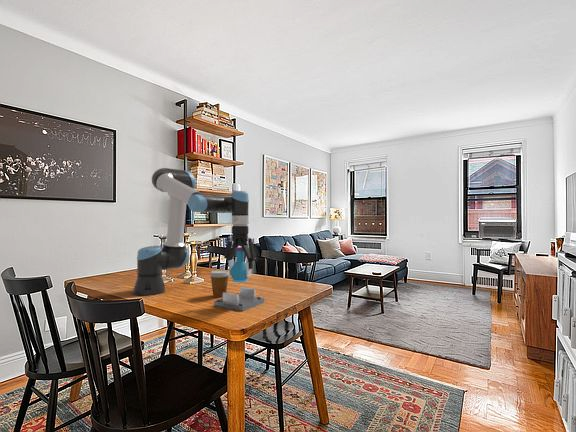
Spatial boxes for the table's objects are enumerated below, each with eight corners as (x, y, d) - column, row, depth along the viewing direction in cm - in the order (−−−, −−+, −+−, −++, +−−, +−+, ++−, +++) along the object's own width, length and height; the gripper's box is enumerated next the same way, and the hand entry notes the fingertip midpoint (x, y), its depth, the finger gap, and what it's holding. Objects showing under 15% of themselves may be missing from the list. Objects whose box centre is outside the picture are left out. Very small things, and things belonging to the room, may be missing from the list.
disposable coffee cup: (224, 298, 155) (225, 273, 155) (206, 297, 157) (206, 272, 157) (232, 293, 164) (232, 270, 164) (214, 292, 166) (214, 269, 166)
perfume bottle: (230, 279, 150) (230, 246, 150) (250, 278, 150) (250, 246, 150) (228, 283, 140) (228, 248, 141) (249, 282, 141) (249, 248, 141)
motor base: (213, 305, 143) (213, 292, 143) (236, 297, 157) (236, 285, 157) (242, 311, 135) (242, 296, 135) (264, 302, 149) (264, 289, 149)
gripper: (216, 225, 148) (216, 274, 148) (255, 225, 137) (255, 278, 137) (226, 225, 154) (226, 272, 154) (264, 225, 143) (264, 276, 143)
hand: (240, 275), depth 145 cm, fingers closed on perfume bottle, 9 cm apart
